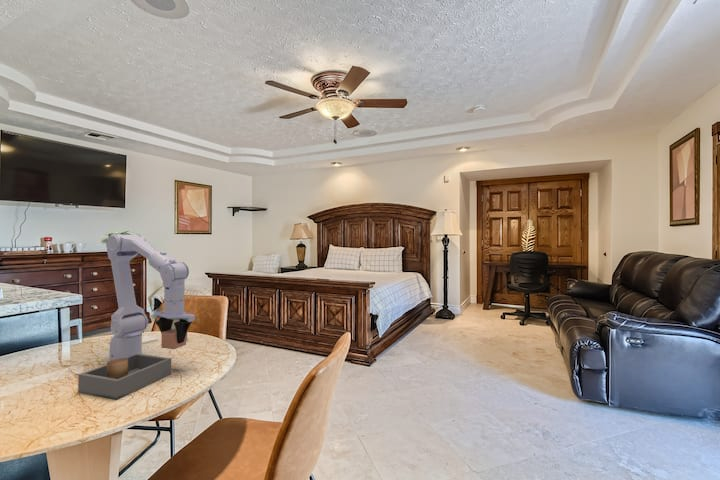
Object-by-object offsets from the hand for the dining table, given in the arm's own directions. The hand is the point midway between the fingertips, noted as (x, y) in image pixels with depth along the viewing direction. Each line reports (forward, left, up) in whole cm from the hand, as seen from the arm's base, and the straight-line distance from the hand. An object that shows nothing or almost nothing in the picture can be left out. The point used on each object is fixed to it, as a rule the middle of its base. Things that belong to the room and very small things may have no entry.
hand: (173, 341), depth 112 cm
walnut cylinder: (-5, -15, -9) cm, 18 cm away
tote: (-5, -12, -9) cm, 16 cm away
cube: (0, 0, -2) cm, 2 cm away
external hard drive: (-36, +18, -10) cm, 41 cm away
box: (-21, +24, -10) cm, 33 cm away
